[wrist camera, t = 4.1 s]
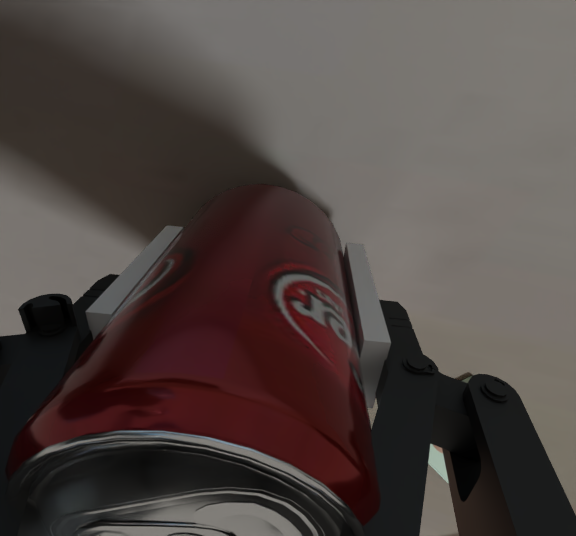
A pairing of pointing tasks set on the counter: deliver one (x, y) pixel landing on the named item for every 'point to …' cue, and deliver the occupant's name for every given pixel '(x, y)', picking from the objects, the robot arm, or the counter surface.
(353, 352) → the soda can
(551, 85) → the counter surface
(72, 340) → the robot arm
